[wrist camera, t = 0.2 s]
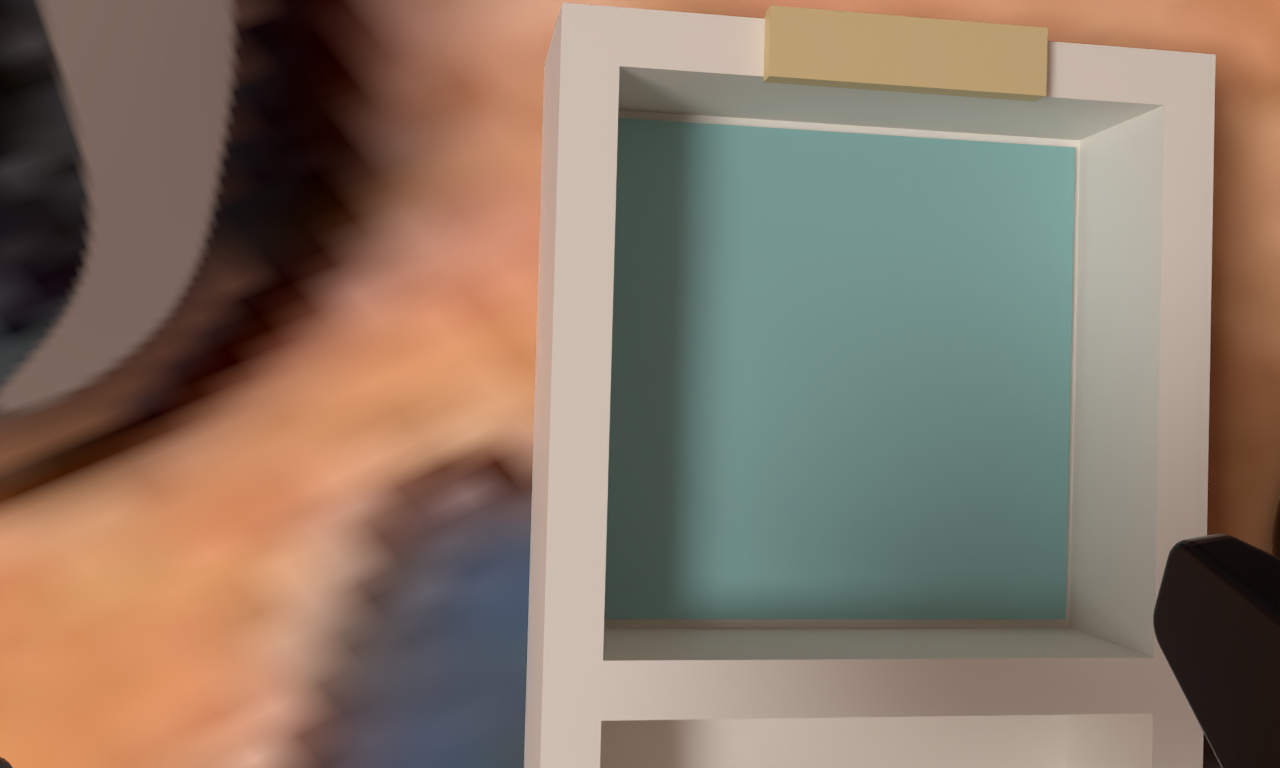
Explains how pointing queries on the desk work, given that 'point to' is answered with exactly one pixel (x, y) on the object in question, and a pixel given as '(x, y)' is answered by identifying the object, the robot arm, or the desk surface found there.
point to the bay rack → (864, 393)
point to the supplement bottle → (1276, 534)
